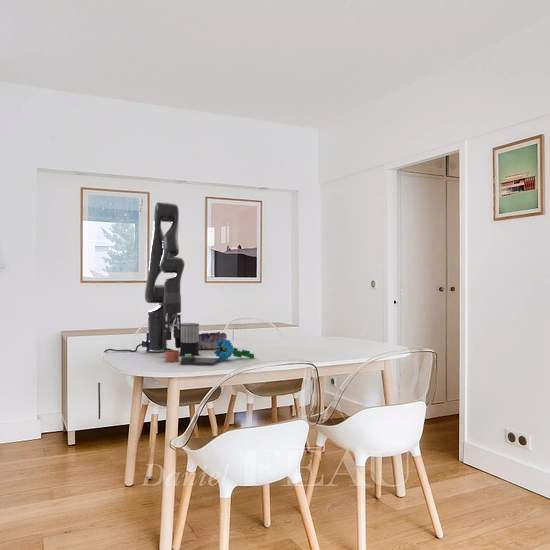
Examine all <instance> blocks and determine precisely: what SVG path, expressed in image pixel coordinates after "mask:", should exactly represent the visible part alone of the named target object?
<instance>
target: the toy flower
mask: <svg viewBox="0 0 550 550" xmlns="http://www.w3.org/2000/svg"><path fill="white" fill-rule="evenodd" d="M216 344H217V346H220V348H218V349H214V350H215V351H213V354H214V355H215V357H217V358H220V361H227V360H228V359H229V358H231V356H233V357H236V358H242V357H246V358H251V359H255V354H254V353H251V351H250V350H246V349H241V350H238V349H239V348H237V347H234V345H233V344H232V342H231V340H229V339H226V340H225V339H223V341H221V340H220V341H219V342H216Z"/></svg>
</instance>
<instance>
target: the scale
mask: <svg viewBox="0 0 550 550" xmlns="http://www.w3.org/2000/svg"><path fill="white" fill-rule="evenodd" d="M180 358H181V359H180V365H181V366H205V367H206V366H209V367H213V366H214V365H216V364H218V363H220V362H221V360H220V358H219V357H196V356H191V358H185V356H183V355H182V356H181V357H180Z"/></svg>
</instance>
